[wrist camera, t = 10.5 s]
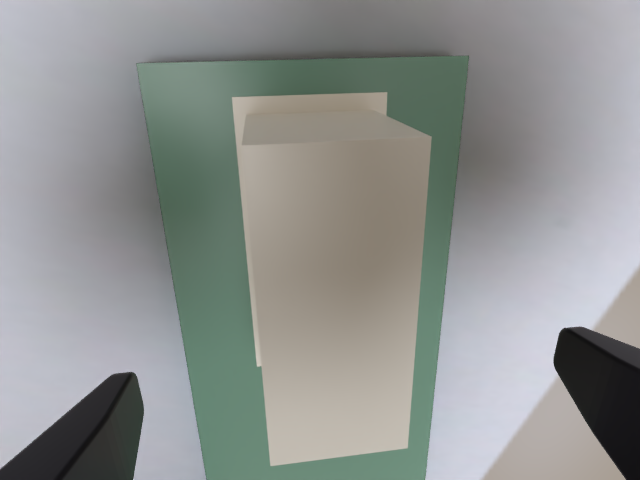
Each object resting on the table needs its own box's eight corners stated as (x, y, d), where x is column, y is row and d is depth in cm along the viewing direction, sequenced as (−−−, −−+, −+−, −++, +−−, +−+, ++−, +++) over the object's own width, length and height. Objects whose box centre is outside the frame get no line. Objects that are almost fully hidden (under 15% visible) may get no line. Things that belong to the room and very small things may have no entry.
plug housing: (367, 345, 17) (407, 448, 13) (266, 355, 17) (270, 466, 12) (373, 110, 14) (431, 136, 9) (246, 115, 13) (241, 145, 9)
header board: (415, 494, 23) (441, 566, 20) (218, 522, 22) (212, 603, 18) (455, 55, 15) (511, 56, 11) (144, 62, 14) (109, 65, 10)
